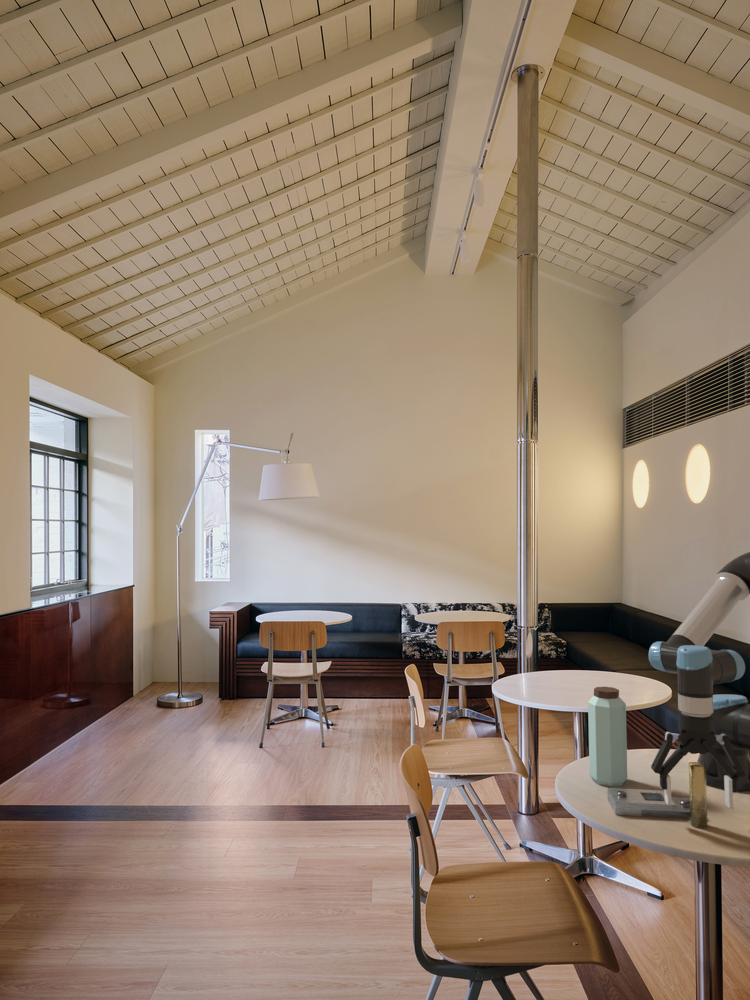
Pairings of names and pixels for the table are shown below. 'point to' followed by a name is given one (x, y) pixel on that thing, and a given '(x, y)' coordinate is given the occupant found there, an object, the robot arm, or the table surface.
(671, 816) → the chain ends
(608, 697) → the water bottle
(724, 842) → the table surface
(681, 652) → the robot arm
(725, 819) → the table surface
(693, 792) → the pin
